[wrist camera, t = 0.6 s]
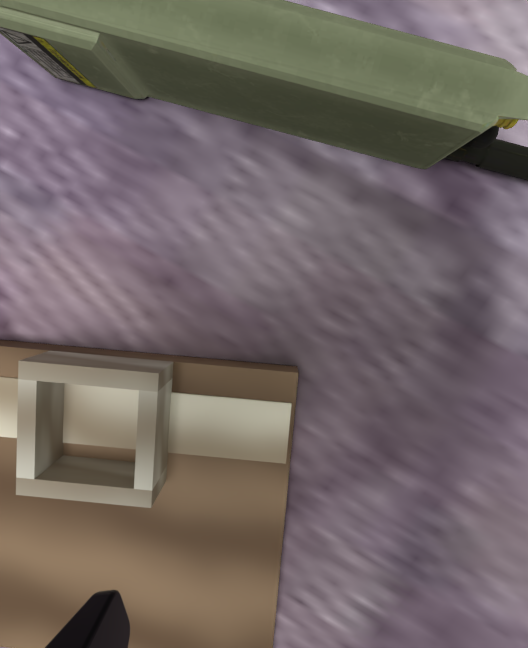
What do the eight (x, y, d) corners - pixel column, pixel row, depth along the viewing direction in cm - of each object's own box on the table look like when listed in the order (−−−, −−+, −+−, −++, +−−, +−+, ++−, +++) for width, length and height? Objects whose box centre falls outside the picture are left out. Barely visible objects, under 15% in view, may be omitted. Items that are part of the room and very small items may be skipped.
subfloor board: (270, 649, 23) (268, 726, 19) (-135, 607, 24) (-218, 672, 20) (297, 366, 22) (301, 386, 18) (-142, 327, 22) (-233, 337, 18)
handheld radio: (59, 10, 20) (561, 143, 20) (47, 81, 21) (537, 211, 21) (-48, -110, 14) (696, 86, 14) (-62, -2, 14) (656, 188, 14)
